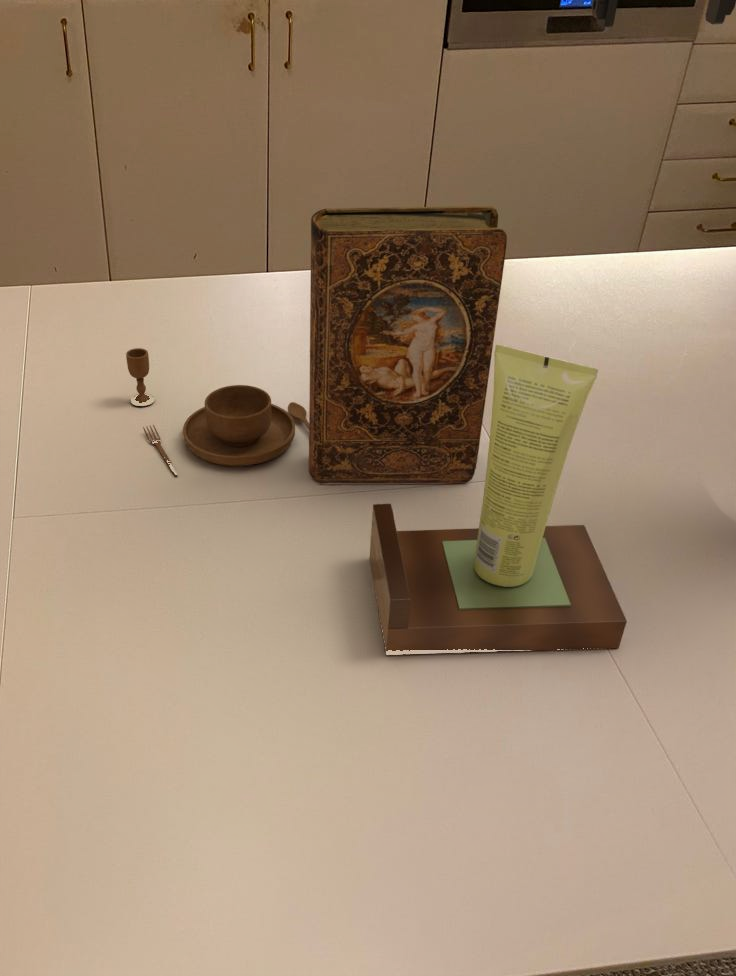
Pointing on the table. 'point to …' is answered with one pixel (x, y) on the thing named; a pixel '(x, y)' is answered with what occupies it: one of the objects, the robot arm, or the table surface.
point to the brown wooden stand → (489, 593)
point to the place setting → (229, 421)
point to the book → (401, 341)
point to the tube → (526, 457)
